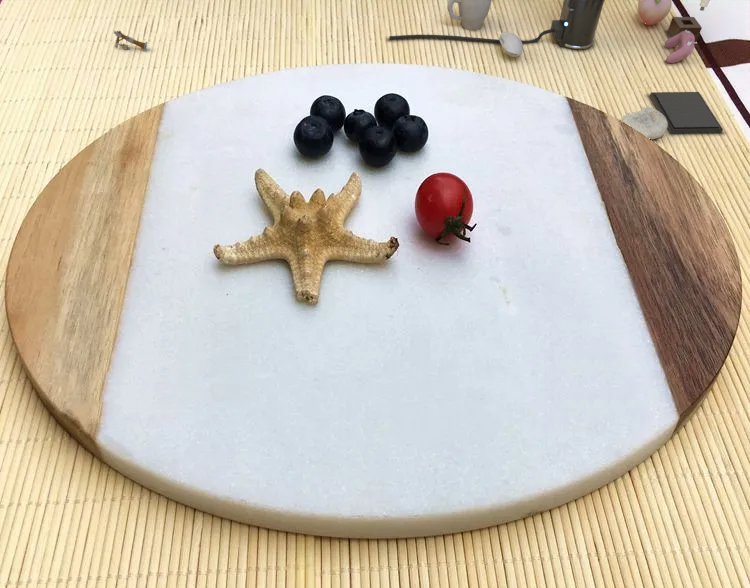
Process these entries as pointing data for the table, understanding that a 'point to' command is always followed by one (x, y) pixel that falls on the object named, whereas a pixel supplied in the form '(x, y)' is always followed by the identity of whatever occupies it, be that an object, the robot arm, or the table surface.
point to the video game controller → (680, 46)
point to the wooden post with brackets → (129, 39)
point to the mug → (470, 12)
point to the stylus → (704, 4)
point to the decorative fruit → (653, 10)
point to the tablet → (685, 112)
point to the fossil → (647, 122)
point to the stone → (511, 44)
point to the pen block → (684, 26)
